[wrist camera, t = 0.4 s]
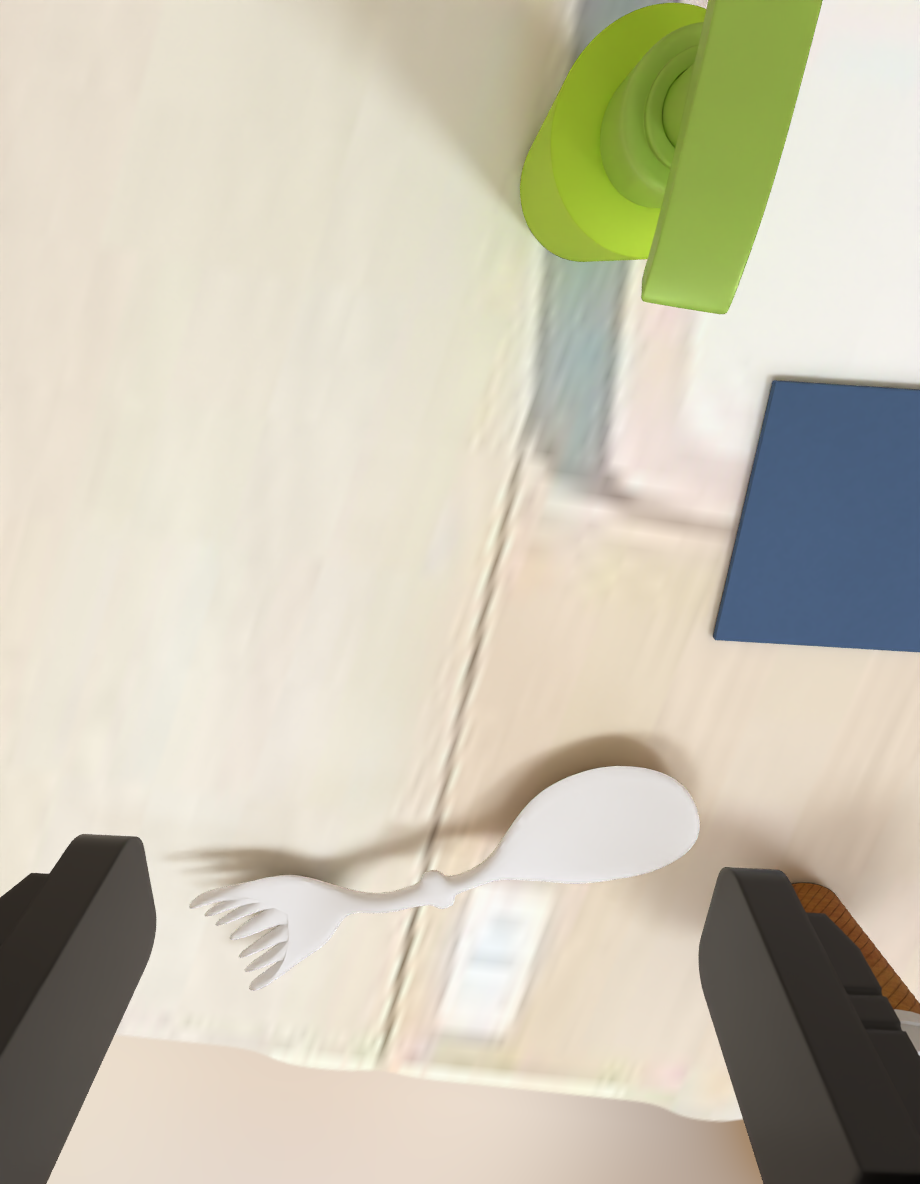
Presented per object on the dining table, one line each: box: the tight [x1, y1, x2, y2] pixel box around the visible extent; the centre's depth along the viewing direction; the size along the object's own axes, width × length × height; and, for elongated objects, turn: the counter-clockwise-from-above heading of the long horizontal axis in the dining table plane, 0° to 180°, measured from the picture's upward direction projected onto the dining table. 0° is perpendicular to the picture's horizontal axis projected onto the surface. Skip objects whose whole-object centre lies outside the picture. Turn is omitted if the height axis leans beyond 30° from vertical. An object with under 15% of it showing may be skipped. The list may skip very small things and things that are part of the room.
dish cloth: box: [713, 380, 920, 652], centre depth 37 cm, size 14×12×1 cm
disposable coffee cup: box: [792, 883, 920, 1056], centre depth 44 cm, size 10×10×12 cm
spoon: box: [189, 766, 700, 991], centre depth 45 cm, size 9×32×4 cm, turn 111°
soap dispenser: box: [520, 0, 823, 314], centre depth 22 cm, size 6×7×20 cm
